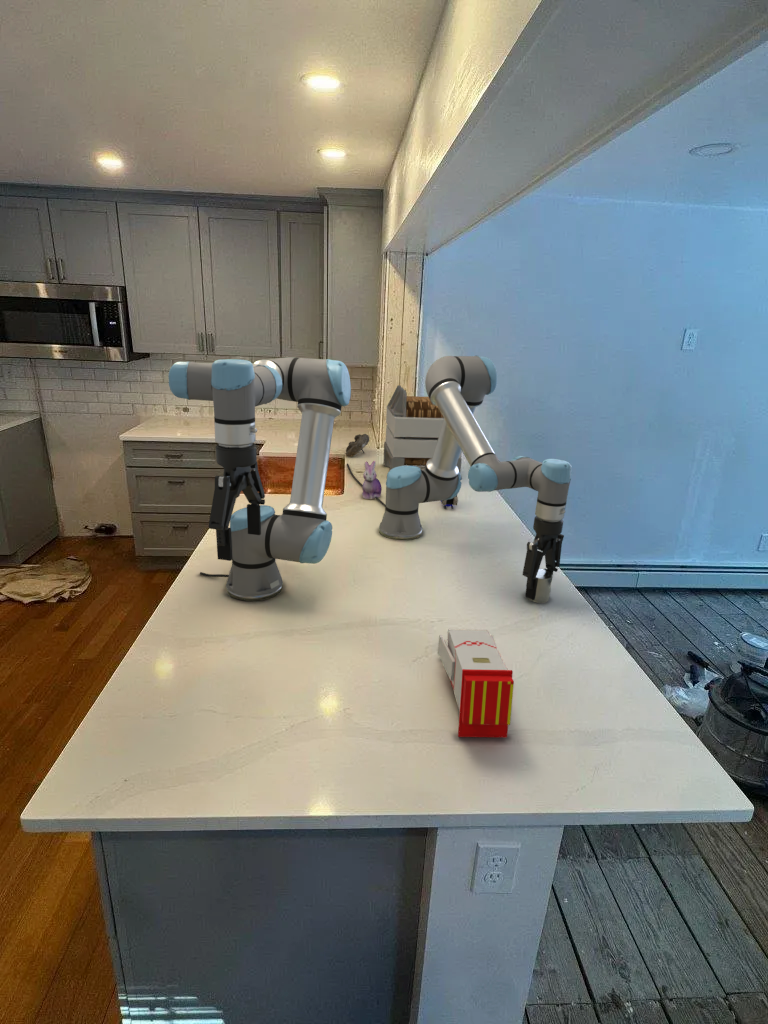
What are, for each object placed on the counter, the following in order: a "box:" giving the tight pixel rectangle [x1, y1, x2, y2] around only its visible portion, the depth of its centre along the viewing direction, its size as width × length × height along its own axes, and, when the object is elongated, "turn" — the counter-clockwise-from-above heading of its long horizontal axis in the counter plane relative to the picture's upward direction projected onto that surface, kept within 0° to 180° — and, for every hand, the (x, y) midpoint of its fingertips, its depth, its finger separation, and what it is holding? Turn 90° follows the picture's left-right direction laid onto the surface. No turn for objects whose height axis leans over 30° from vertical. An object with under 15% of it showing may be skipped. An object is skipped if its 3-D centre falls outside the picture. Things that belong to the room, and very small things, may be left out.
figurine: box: [361, 460, 383, 500], centre depth 235 cm, size 9×10×15 cm
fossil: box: [345, 433, 370, 458], centre depth 306 cm, size 22×10×15 cm
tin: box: [525, 568, 554, 604], centre depth 158 cm, size 6×6×8 cm
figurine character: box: [440, 494, 459, 510], centre depth 230 cm, size 7×8×15 cm
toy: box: [437, 628, 515, 738], centre depth 117 cm, size 12×13×30 cm
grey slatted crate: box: [383, 384, 463, 475], centre depth 268 cm, size 34×33×41 cm
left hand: (240, 546), depth 115 cm, fingers open, 13 cm apart
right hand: (537, 594), depth 159 cm, fingers closed on tin, 6 cm apart
